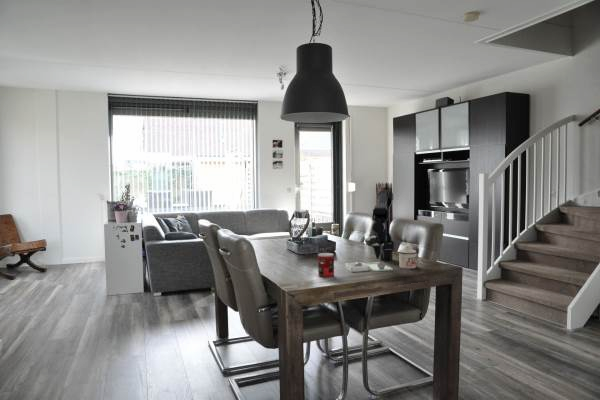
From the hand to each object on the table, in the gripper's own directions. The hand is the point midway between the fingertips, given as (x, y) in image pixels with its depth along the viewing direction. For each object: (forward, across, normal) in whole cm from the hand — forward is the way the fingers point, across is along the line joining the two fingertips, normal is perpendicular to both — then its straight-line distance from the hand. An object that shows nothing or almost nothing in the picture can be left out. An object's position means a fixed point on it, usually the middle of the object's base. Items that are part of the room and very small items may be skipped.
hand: (381, 260), depth 226 cm
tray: (+5, -5, 0) cm, 7 cm away
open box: (+5, -4, -12) cm, 14 cm away
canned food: (+6, +2, -31) cm, 32 cm away
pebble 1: (+4, -2, -12) cm, 13 cm away
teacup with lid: (+6, -1, +17) cm, 18 cm away
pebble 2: (+5, 0, 0) cm, 5 cm away
